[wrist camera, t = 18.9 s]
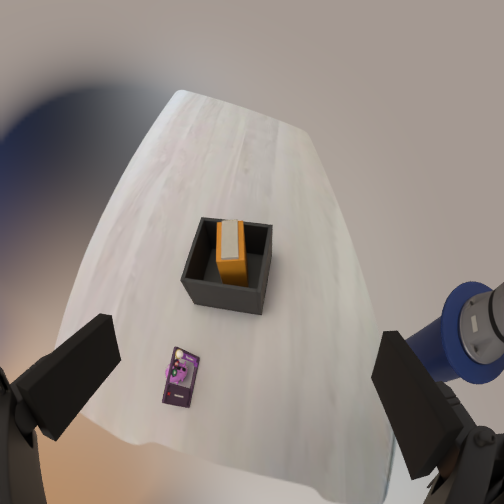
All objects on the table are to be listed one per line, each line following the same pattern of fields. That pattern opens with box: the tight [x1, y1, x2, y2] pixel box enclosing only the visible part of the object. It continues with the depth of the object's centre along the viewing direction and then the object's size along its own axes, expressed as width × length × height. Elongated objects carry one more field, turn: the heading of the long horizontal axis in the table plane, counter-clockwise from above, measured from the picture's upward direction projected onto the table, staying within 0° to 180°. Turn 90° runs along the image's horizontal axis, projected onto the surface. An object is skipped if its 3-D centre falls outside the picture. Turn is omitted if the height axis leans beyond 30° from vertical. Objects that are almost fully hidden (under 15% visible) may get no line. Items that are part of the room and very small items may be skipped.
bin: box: [180, 217, 273, 315], centre depth 48 cm, size 12×12×10 cm
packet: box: [216, 220, 249, 288], centre depth 46 cm, size 4×7×13 cm, turn 3°
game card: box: [162, 347, 200, 408], centre depth 40 cm, size 7×5×9 cm
